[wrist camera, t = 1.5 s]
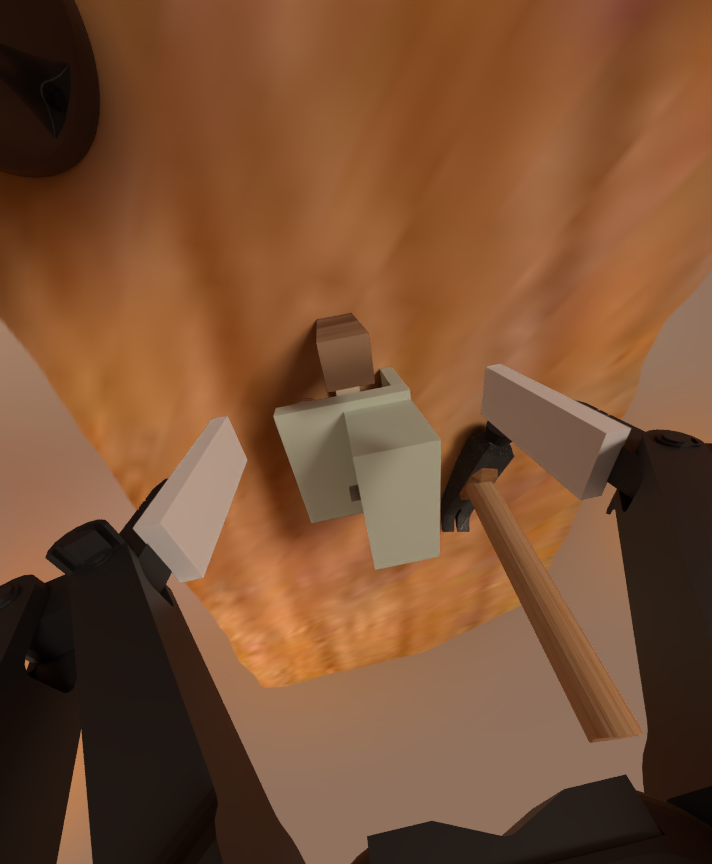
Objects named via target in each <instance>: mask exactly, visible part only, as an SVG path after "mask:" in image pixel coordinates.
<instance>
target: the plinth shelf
mask: <svg viewBox="0 0 712 864" xmlns="http://www.w3.org/2000/svg"><path fill="white" fill-rule="evenodd" d="M380 374H381V383H382V387H381V388H376V389H371V390H366V391H361V392H355V393H350V394H345V395H340V396H335V397H330V398H325V399H319V400H314V401H309V402H304V403H299V404H294V405H288V406H283V407H278V408H276V409H275V413H274V416H273V417H274V420H275V423H276V425H277V428H278V431H279V434H280V437H281V439H282V442H283V445H284V448H285V451H286V453H287V456H288V459H289V462H290V465H291V468H292V470H293V473H294V476H295V479H296V482H297V484H298V487H299V490H300V493H301V496H302V498H303V501H304V504H305V507H306V510H307V512H308V515H309V518H310V521H311V523H316V522H321V521H325V520H330V519H335V518H340V517H345V516H350V515H355V514H359V513H364V517H365V522H366V527H367V532H368V537H369V542H370V547H371V552H372V557H373V561H374V566H375V570H377V569H382V568H387V567H391V566H396V565H401V564H405V563H410V562H415V561H420V560H424V559H429V558H434V557H438V556H440V479H441V439H440V438H439V436H438V435H437V434H436V432H435V431H434V430H433V428H432V427H431V426H430V424H429V423H428V422H427V420H426V419H425V418H424V416H423V415H422V413H421V412H420V411H419V409H418V408H417V407H416V405H415V404H414V403H413V401H412V400H411V398H410V389H409V388H408V387H407V385H406V384H405V383H404V382H403V380H402V379H401V378H400V377H399V375H398V374H397V373H396V372H395V370H394V369H393V368H392V367H386V368H381V369H380Z"/></svg>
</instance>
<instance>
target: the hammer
mask: <svg viewBox="0 0 712 864" xmlns="http://www.w3.org/2000/svg"><path fill="white" fill-rule="evenodd" d="M511 442H512V441H511V440H510V439H509V438H508V437H507V436H505V435H504V434H503V433H502V432H501V431H500V430H498V429H497V428H496V427H495V426H494V425H493V424H491V423H490V422H489V421H488V422H487V424H486V430H485V432H481V433H477V434H474V435H470V437H469V439H468V441H467V443H466V444H465V446H464V448H463V450H462V452H461V454H460V456H459V457H458V459H457V461H456V464H455V466H454V469H453V471H452V474H451V477H450V479H449V482H448V484H447V487H446V489H445V492H444V494H443V497H442V500H441V509H440V510H441V523H442V531H443V532H454V520H455V521H456V527H457V532H469V519H470V515H471V513H472V512H473V510H474V509H475V511H476V513H477V515H478V517H479V519H480V521H481V523H482V525H483V527H484V529H485V531H486V533H487V535H488V537H489V539H490V541H491V543H492V545H493V547H494V549H495V551H496V553H497V555H498V557H499V559H500V562H501V564H502V566H503V568H504V570H505V572H506V574H507V576H508V578H509V580H510V582H511V584H512V586H513V588H514V590H515V592H516V594H517V596H518V598H519V600H520V602H521V604H522V606H523V608H524V610H525V612H526V614H527V616H528V619H529V621H530V622H531V625H532V626H533V629H534V631H535V633H536V635H537V637H538V639H539V641H540V643H541V645H542V647H543V649H544V651H545V653H546V655H547V657H548V659H549V661H550V663H551V665H552V667H553V669H554V671H555V673H556V675H557V678H558V679H559V681H560V684H561V686H562V688H563V690H564V692H565V694H566V696H567V698H568V700H569V702H570V704H571V706H572V708H573V710H574V712H575V714H576V716H577V718H578V720H579V722H580V724H581V726H582V728H583V730H584V732H585V734H586V736H587V739H588V741H589V742H591V743H592V742H599V741H606V740H613V739H620V738H625V737H631V736H637V735H638V734H640V733H644V731H643V730H642V728H641V727H640V725H639V723H638V721H637V720H636V718H635V716H634V715H633V713H632V711H631V710H630V708H629V707H628V705H627V703H626V702H625V700H624V698H623V697H622V695H621V693H620V692H619V690H618V688H617V687H616V685H615V683H614V682H613V680H612V678H611V677H610V675H609V673H608V672H607V670H606V668H605V667H604V665H603V664H602V662H601V660H600V658H599V657H598V655H597V653H596V652H595V650H594V649H593V647H592V645H591V644H590V642H589V640H588V639H587V637H586V635H585V634H584V632H583V630H582V629H581V627H580V625H579V624H578V622H577V620H576V619H575V617H574V615H573V614H572V612H571V610H570V609H569V607H568V605H567V604H566V602H565V600H564V599H563V597H562V596H561V594H560V593H559V591H558V589H557V587H556V585H555V584H554V582H553V581H552V579H551V577H550V576H549V574H548V572H547V571H546V569H545V567H544V566H543V564H542V562H541V561H540V559H539V557H538V556H537V554H536V552H535V551H534V549H533V547H532V546H531V544H530V542H529V541H528V539H527V537H526V536H525V534H524V532H523V531H522V529H521V527H520V526H519V524H518V522H517V521H516V519H515V517H514V516H513V514H512V513H511V511H510V509H509V508H508V506H507V504H506V503H505V501H504V499H503V498H502V496H501V494H500V493H499V491H498V489H497V488H496V486H495V484H494V483H495V482H496V480H497V478H498V477H499V476H500V474H501V473H502V472H503V470H504V469H505V468H506V467H507V465H508V464H509V463H510V461H511V460H512V459H513V457H514V455H513V452H512V448H511V445H510V443H511Z"/></svg>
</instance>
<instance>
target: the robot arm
mask: <svg viewBox="0 0 712 864" xmlns="http://www.w3.org/2000/svg"><path fill="white" fill-rule="evenodd" d="M98 117H99V84H98V76H97V70H96V65H95V60H94V56H93V51H92V48H91V44H90V41H89V37H88V34H87V32H86V29H85V26H84V23H83V20H82V18H81V15H80V13H79V10H78V8H77V6H76V3H75V1H74V0H0V171H4V172H7V173H10V174H15V175H19V176H26V177H46V176H52V175H56V174H59V173H62V172H64V171H66V170H68V169H70V168H71V167H73V166H74V165H75V164H77V163H78V162H79V161H80V160H81V159H82V158H83V156H84V155H85V154H86V152H87V151H88V149H89V147H90V145H91V143H92V141H93V138H94V135H95V132H96V128H97V124H98ZM481 415H482V416H483V417H484V418H486V419H487V420H488V421H489V422H490V423H491V424H493V425H494V426H495V427H496V428H497V429H498V430H500V431H501V432H502V433H503V434H504V435H505V436H507V437H508V438H509V439H510V440H511V441H512V442H513V443H515V444H516V445H517V446H518V447H519V448H520V449H522V450H523V451H524V452H525V453H526V454H527V455H529V456H530V457H531V458H532V459H533V460H534V461H536V462H537V463H538V464H539V465H540V466H541V467H542V468H544V469H545V470H546V471H547V472H548V473H549V474H551V475H552V476H553V477H554V478H555V479H556V480H558V481H559V482H560V483H561V484H562V485H563V486H565V487H566V488H567V489H568V490H569V491H570V492H571V493H573V494H574V495H575V496H576V497H577V498H578V499H580V500H583V499H588V498H592V497H597V496H601V495H602V493H603V491H604V488H605V486H606V484H607V482H608V483H610V484H611V485H613V486H614V487H615V488H617V490H616V492H615V494H614V496H613V498H612V500H611V502H610V505H609V507H608V508H607V512H606V513H607V514H611V512H612V510H614V509H615V510H616V518H617V524H618V531H619V538H620V544H621V550H622V557H623V563H624V570H625V577H626V584H627V591H628V597H629V604H630V611H631V617H632V624H633V631H634V637H635V644H636V649H637V650H636V651H637V656H638V664H639V670H640V677H641V683H642V690H643V697H644V703H645V710H646V717H647V725H648V734H647V741H646V745H645V749H644V753H643V764H642V765H643V766H642V771H643V785H644V793H643V792H640V791H636V790H635V788H634V787H633V785H632V783H631V782H630V780H629V779H628V777H627V775H622V776H618V777H613V778H609V779H605V780H601V781H597V782H593V783H588V784H584V785H581V786H576V787H572V788H568V789H564V790H562V791H560V792H559V793H557V794H556V795H554V796H553V797H551V798H550V799H548V800H546V801H544V802H543V803H542V804H540V805H538V806H536V807H535V808H533V809H532V810H531V811H529V812H528V813H527V814H526V815H525V816H524V817H523V818H521V819H520V820H519V821H518V822H517V823H516V824H515V825H513V826H512V827H511V828H510V829H509V830H508V831H507V832H506V833H504V834H503V835H502V836H499V835H495V834H489V833H485V832H481V831H476V830H471V829H467V828H462V827H458V826H453V825H449V824H444V823H439V822H435V821H429V822H425V823H421V824H417V825H413V826H408V827H404V828H400V829H396V830H392V831H387V832H383V833H379V834H375V835H371V836H367V839H368V848H367V849H366V850H365V851H363V852H362V853H361V854H360V855H359V856H357V858H356V859H355V860H354V861H353V862H352V863H351V864H712V444H711V443H709V444H707V443H704V442H703V441H701V440H699V439H697V438H695V437H693V436H690V435H687V434H684V433H681V432H676V431H670V430H650V431H647V432H645V431H643V430H641V429H638V428H636V427H634V426H632V425H630V424H628V423H626V422H624V421H622V420H620V419H618V418H616V417H614V416H612V415H608V414H607V413H605V412H603V411H601V410H598V409H597V408H595V407H593V406H591V405H589V404H587V403H584V402H580V401H576V400H573V399H571V398H569V397H567V396H565V395H563V394H561V393H559V392H557V391H555V390H553V389H550V388H548V387H546V386H544V385H542V384H540V383H538V382H536V381H534V380H532V379H530V378H528V377H526V376H524V375H522V374H520V373H518V372H516V371H514V370H512V369H510V368H508V367H506V366H504V365H502V364H497V365H492V366H487V367H486V371H485V380H484V390H483V400H482V409H481ZM246 463H247V458H246V456H245V454H244V451H243V449H242V447H241V445H240V442H239V440H238V438H237V436H236V434H235V431H234V429H233V427H232V425H231V423H230V420H229V418H228V416H224V417H219V418H213V419H211V421H210V422H209V423H208V425H207V426H206V428H205V429H204V430H203V432H202V433H201V435H200V436H199V437H198V439H197V440H196V441H195V443H194V444H193V446H192V447H191V448H190V450H189V451H188V452H187V454H186V455H185V457H184V458H183V459H182V461H181V462H180V463H179V465H178V466H177V468H176V469H175V470H174V472H173V473H172V475H171V476H170V477H169V478H168V479H165V480H163V481H162V482H161V483H160V484H159V485H157V486H156V487H155V488H154V489H153V490H152V491H151V493H150V494H149V495H148V497H147V498H146V499H145V500H146V501H144V502H143V503H142V504H141V506H140V507H139V510H137V511H136V512H135V514H134V515H133V516H132V518H131V519H130V521H129V522H128V523H127V524H126V525H125V527H124V528H123V530H122V531H121V532H120V533H119V534H118V533H117V531H116V530H115V529H114V528H113V527H112V526H111V525H110V524H109V523H108V522H107V521H106V520H95V521H91V522H87V523H85V524H83V525H81V526H79V527H76V528H75V529H73V530H72V531H70V532H68V533H67V534H65V535H64V536H63V537H62V538H60V539H59V540H58V541H56V542H55V543H54V545H53V546H52V547H51V548H50V549H49V550H48V552H47V555H46V559H47V560H49V561H50V562H51V563H52V564H54V565H55V566H56V567H57V568H59V569H60V570H61V571H62V572H64V573H65V575H63V576H61V577H58V578H56V579H53V580H51V581H49V582H46V583H44V582H42V581H41V580H39V579H38V578H37V577H35V576H34V575H24V576H21V577H18V578H15V579H13V580H11V581H9V582H7V583H5V584H3V585H1V586H0V864H56V862H57V857H58V852H59V846H60V841H61V835H62V830H63V825H64V819H65V814H66V808H67V803H68V798H69V792H70V787H71V781H72V776H73V770H74V765H75V759H76V754H77V748H78V743H79V738H80V732H81V730H82V741H83V753H84V765H85V776H86V788H87V800H88V810H89V823H90V835H91V847H92V858H93V864H305V862H304V860H303V858H302V856H301V854H300V852H299V850H298V848H297V847H296V845H295V843H294V842H293V840H292V838H291V837H290V835H289V834H288V833H287V832H286V830H285V829H284V828H283V826H282V825H281V823H280V822H279V820H278V818H277V817H276V815H275V813H274V811H273V809H272V807H271V804H270V802H269V800H268V798H267V796H266V794H265V792H264V789H263V787H262V785H261V783H260V781H259V779H258V776H257V774H256V772H255V770H254V768H253V766H252V764H251V761H250V759H249V757H248V755H247V753H246V750H245V748H244V746H243V744H242V742H241V740H240V738H239V735H238V733H237V731H236V729H235V727H234V725H233V722H232V720H231V718H230V716H229V714H228V712H227V709H226V707H225V705H224V703H223V701H222V699H221V697H220V694H219V692H218V690H217V688H216V686H215V684H214V681H213V679H212V677H211V675H210V673H209V671H208V668H207V667H206V664H205V662H204V660H203V658H202V656H201V653H200V651H199V649H198V647H197V645H196V643H195V640H194V638H193V636H192V634H191V632H190V630H189V627H188V626H187V624H186V621H185V619H184V617H183V615H182V612H181V610H180V608H179V606H178V604H177V602H176V599H175V597H174V595H173V593H172V591H171V589H170V588H169V587H168V586H167V585H166V583H167V580H168V579H169V577H170V574H171V573H172V574H173V575H174V576H175V577H176V578H177V579H178V581H179V582H180V583H182V582H187V581H192V580H197V579H201V578H204V575H205V572H206V570H207V567H208V564H209V562H210V559H211V556H212V554H213V551H214V548H215V546H216V543H217V540H218V538H219V535H220V532H221V530H222V527H223V524H224V522H225V519H226V516H227V514H228V511H229V508H230V506H231V503H232V500H233V498H234V495H235V492H236V490H237V487H238V484H239V481H240V479H241V476H242V473H243V471H244V468H245V465H246ZM25 660H28V661H29V665H28V668H27V670H26V668H25Z"/></svg>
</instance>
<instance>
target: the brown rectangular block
mask: <svg viewBox="0 0 712 864" xmlns="http://www.w3.org/2000/svg"><path fill="white" fill-rule="evenodd" d="M316 344H317V349H318V353H319V358H320V362H321V366H322V371H323V375H324V380H325V384H326V389H327V392H332V391H336V394H337V396H340V395H345V394H350V393H355V392H360V387H359V386H364V385H369V384H374V383H375V378H374V370H373V362H372V354H371V346H370V338H369V333H368V332H367V330H366V329H365V328H364V327H363V326H362V325H361V323H360V322H359V321H358V320H357V319H356V318H355V317H354V315H353V314H352V313H349V314H344V315H339V316H333V317H328V318H322V319H317V328H316Z"/></svg>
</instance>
